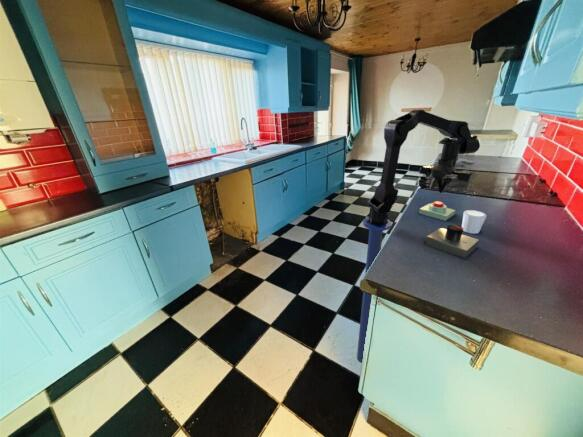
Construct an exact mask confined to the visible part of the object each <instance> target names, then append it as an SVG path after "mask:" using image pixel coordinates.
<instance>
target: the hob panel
mask: <svg viewBox="0 0 583 437" xmlns="http://www.w3.org/2000/svg"><path fill="white" fill-rule="evenodd" d="M446 230H447V228H443V227H439V228H437V229H436V230H435V231H433V232H432V233H430V234H429V235H427V236H426V240H425V245H427V246H430V247H433V248H435V249H438V250H439V251H443V252H446V253H448V254H450V255H454V256H456V257H458V258H462V259H465V258H467V257H468V256H469V255H470V254H471V253H473V251H474V250H475V249H476V248H478V244H479V241H480V239H478V238H475V237H473V236H472V237H471V236H469V235H465V234H462V236H461V239H460V240H459V241H451V240H448V239H447V238H445V234H446Z"/></svg>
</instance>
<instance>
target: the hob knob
mask: <svg viewBox="0 0 583 437" xmlns="http://www.w3.org/2000/svg"><path fill="white" fill-rule="evenodd" d="M446 229H447V230H446V234H445V238H447V239H448V240H451V241H459V240H460V239H461V236H462V235H463V233H464V231H463V228H462V225H457V224H448V225H447V227H446Z"/></svg>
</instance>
